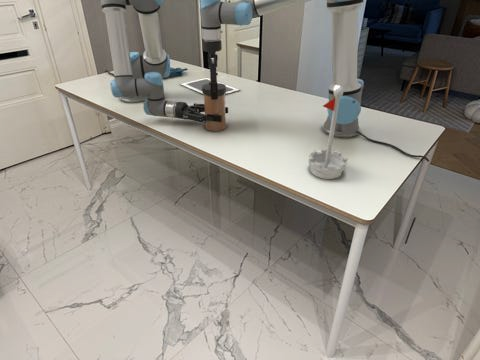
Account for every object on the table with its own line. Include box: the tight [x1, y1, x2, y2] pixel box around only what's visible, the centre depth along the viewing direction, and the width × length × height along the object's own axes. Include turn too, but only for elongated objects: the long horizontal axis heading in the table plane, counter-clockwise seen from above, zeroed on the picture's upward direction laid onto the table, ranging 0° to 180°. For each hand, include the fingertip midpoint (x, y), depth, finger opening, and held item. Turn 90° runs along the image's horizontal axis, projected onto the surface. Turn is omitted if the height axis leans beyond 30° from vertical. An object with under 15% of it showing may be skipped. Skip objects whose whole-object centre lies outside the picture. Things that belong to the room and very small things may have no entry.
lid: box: [202, 82, 226, 96], centre depth 144 cm, size 10×10×2 cm
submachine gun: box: [168, 66, 188, 77], centre depth 221 cm, size 34×4×25 cm
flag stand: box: [307, 88, 348, 180], centre depth 113 cm, size 13×13×30 cm
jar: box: [203, 94, 227, 132], centre depth 149 cm, size 9×9×18 cm
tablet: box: [179, 77, 241, 96], centre depth 200 cm, size 32×20×1 cm, turn 41°
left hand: (224, 114), depth 149 cm, fingers closed on jar, 9 cm apart
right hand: (214, 94), depth 146 cm, fingers closed on lid, 10 cm apart
